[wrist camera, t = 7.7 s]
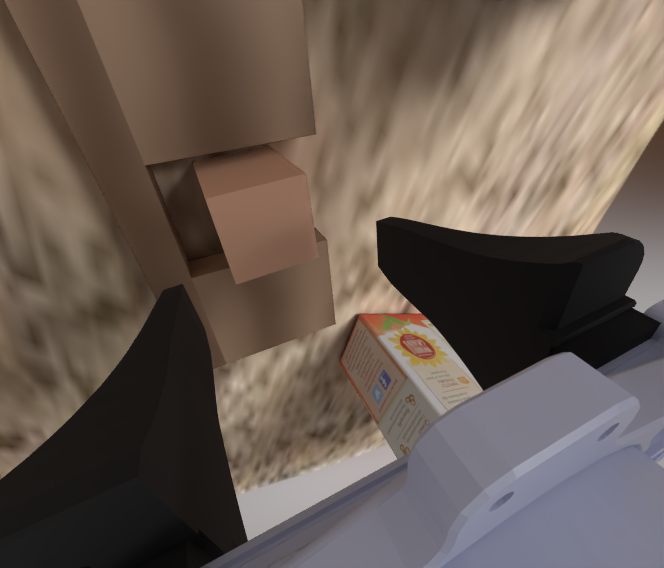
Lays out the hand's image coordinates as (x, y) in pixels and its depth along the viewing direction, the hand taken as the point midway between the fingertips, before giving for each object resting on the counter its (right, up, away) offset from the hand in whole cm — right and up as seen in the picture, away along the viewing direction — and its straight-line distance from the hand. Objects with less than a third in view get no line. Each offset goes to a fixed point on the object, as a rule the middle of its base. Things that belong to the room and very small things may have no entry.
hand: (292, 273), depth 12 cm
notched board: (-4, +4, +6) cm, 9 cm away
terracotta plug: (-4, +5, +6) cm, 9 cm away
